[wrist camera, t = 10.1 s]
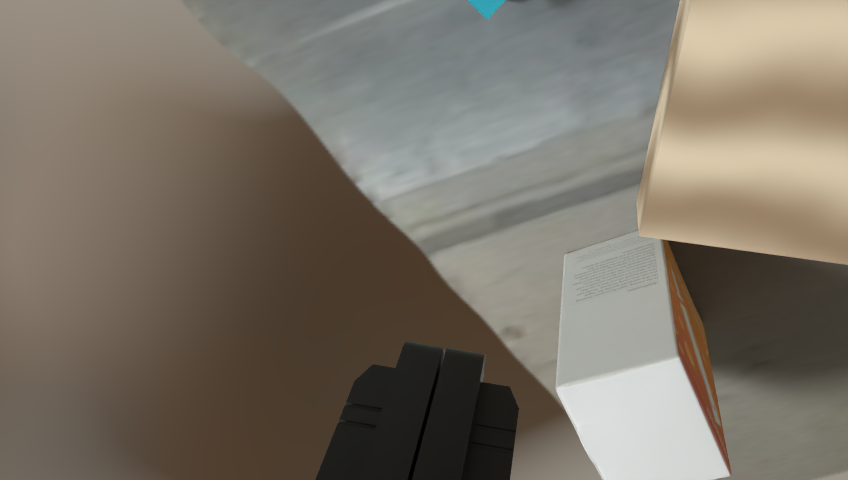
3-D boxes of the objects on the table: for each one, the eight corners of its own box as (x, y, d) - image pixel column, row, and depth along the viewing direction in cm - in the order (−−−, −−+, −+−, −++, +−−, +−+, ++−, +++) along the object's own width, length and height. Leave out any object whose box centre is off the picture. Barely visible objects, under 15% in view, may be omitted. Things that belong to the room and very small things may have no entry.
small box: (705, 323, 51) (735, 479, 40) (608, 349, 53) (611, 503, 42) (662, 218, 47) (681, 356, 36) (561, 251, 50) (550, 390, 39)
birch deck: (703, -110, 38) (714, -98, 35) (972, -88, 37) (1010, -73, 33) (636, 202, 47) (639, 236, 44) (850, 230, 46) (870, 268, 42)
